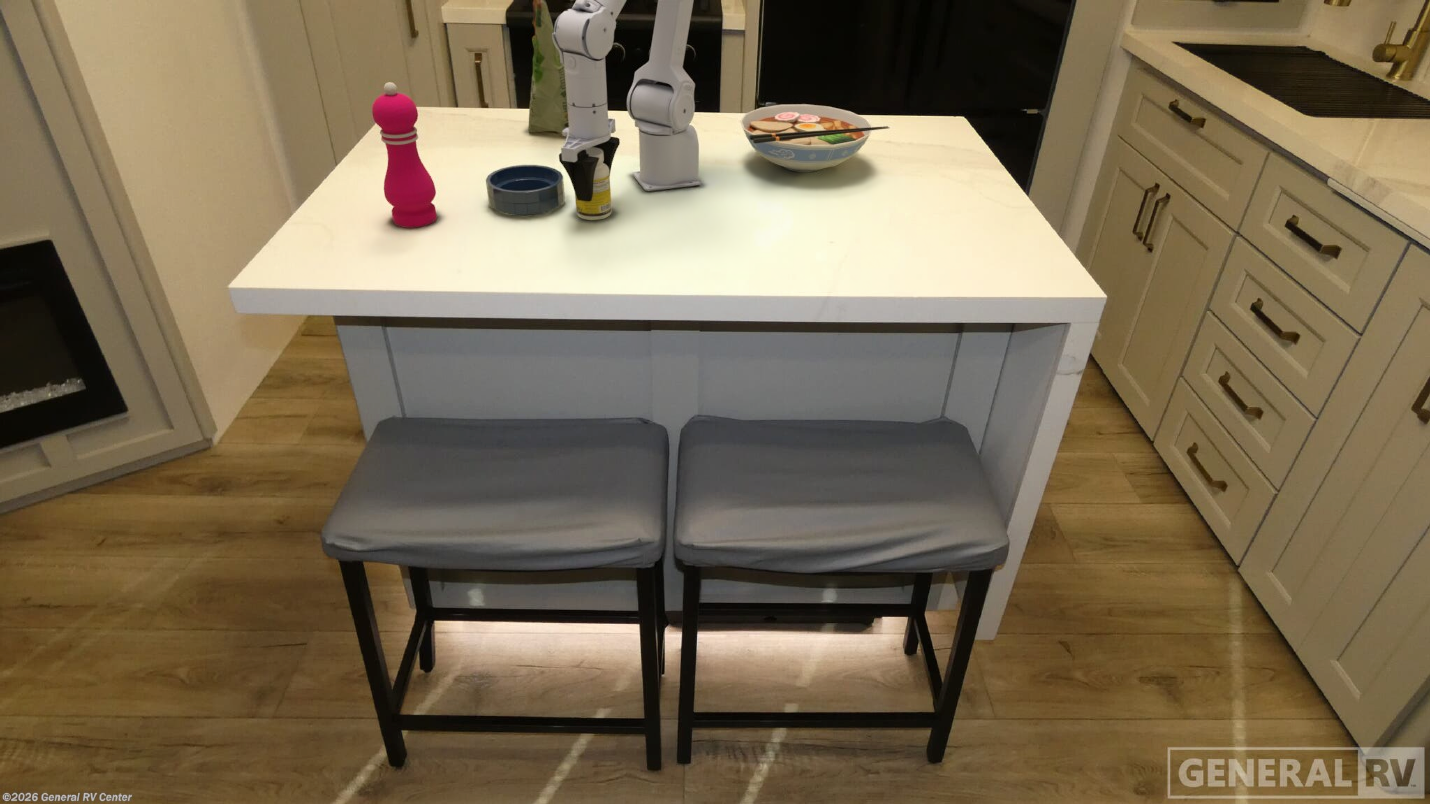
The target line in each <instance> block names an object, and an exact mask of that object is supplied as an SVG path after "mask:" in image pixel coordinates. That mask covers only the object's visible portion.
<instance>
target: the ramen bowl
mask: <svg viewBox="0 0 1430 804" xmlns="http://www.w3.org/2000/svg"><path fill="white" fill-rule="evenodd" d="M739 123H740V125H741V127H742V130H743V132H744V134H745V137H746V138H747V140H748V142H749V144H750V145H751V147H752V149H754V151H755V152H756V153H757V154H758V155H759V156H761V157H762V158H764V159H765V160H767V161H769V162H771V163H772V164H775V165H777V166H780V167H784V168H785V169H787V170H788V171H792V172H798V173H814V172H818V171H820V170H822V169H827V168H832V167H836V166H838V165H839V164H842V163H843V162H845V161H847V160H849V159H852V158H853V156H855V155H856V154H858V152H859V151H860V150H861V148H862V147H863V146H864V145H865V144H866V142H867V140H869V137H870V135H871V134H872V131H879V130H886V129H887V130H888V129H890V127H889V126H888V125H887V126H885V125H884V126H873V125H872V124H871V122H870V121H869V120H868V119H867V118H866V117H864V116H861V115H860V114H857V113H855V112H852V111H850V110H846V109H841V108H836V107H834V106H833V107H832V106H827V105H817V104H816V105H815V104H806V103H801V104H799V103H798V104H797V103H796V104H793V103H791V104H776V105H770V106H763V107H759V108H757V109H754V110H751V111H749V112H746V113H745V114H744V115H743V116H742V117H741V118H740V120H739Z"/></svg>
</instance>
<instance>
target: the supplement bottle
mask: <svg viewBox="0 0 1430 804" xmlns="http://www.w3.org/2000/svg"><path fill="white" fill-rule="evenodd" d="M586 154H588V155H589V156H591V157H598V158H599V160H598V163H597V166H596V169H595V173H594V181H593V196H592V200H591V201H590V202H588V201H581V200H578V199H577V197H576V194H575V193H574V198H575V209H576V215H577V216H578V217H580V218H581V219H583V220H588V221H599V220H603V219H607V218H608V217H610V216H611V214H612V211H613V206H612V193H611V191H612V189H611V178H610V177H611V174H610V175H609V168H608V166H607V165H606V164H604V163H603V161H604V154H603V150H601V149H599V148H595V147H590V148H588V149H587V150H586Z"/></svg>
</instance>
